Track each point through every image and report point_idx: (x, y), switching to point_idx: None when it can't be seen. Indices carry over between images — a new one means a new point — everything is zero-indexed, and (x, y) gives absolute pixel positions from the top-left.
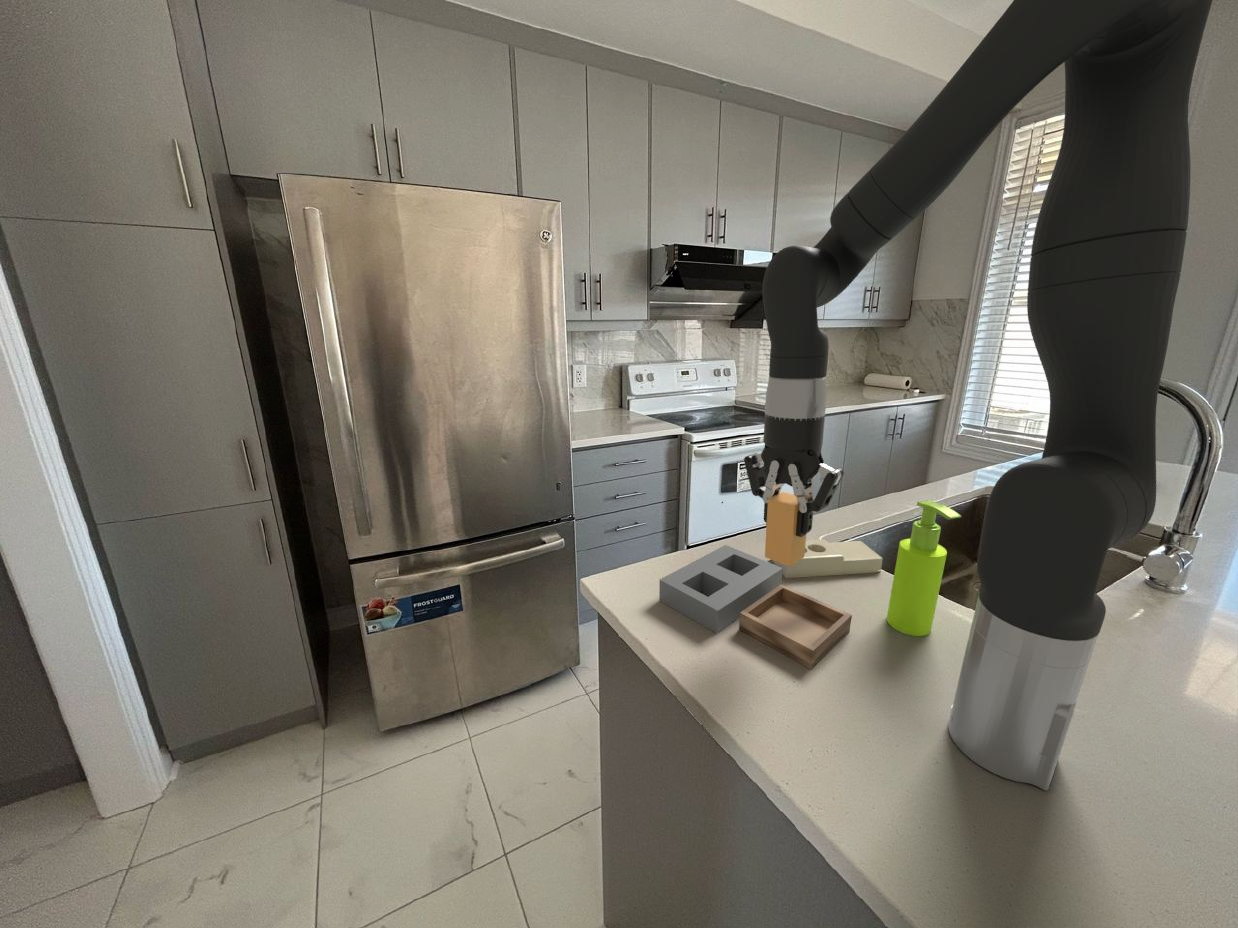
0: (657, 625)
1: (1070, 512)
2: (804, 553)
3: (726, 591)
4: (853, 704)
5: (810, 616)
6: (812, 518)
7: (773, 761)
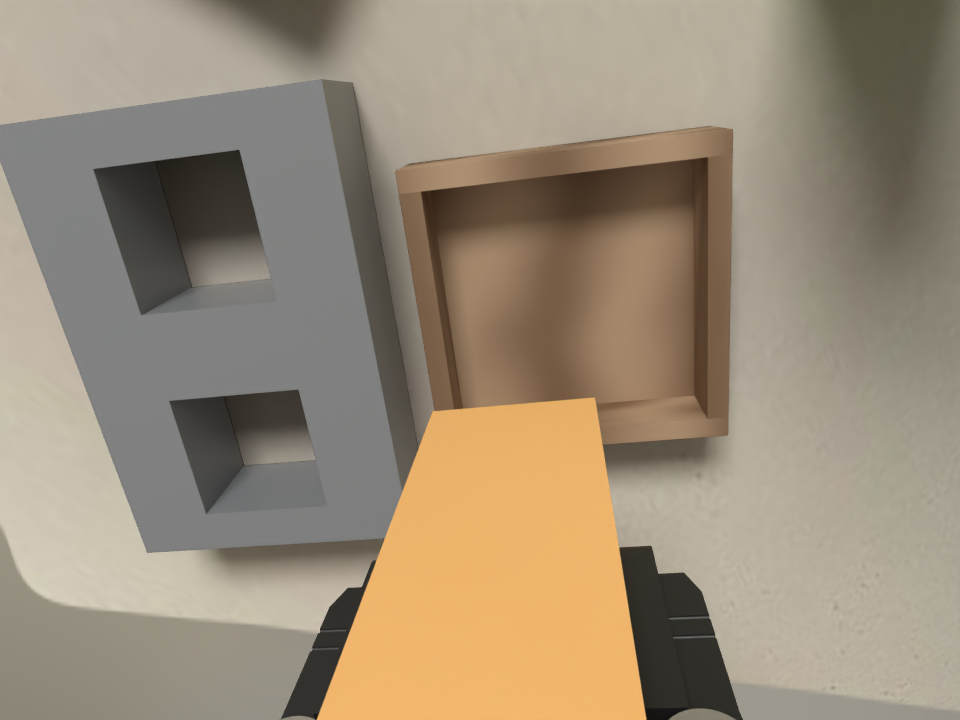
0: (299, 577)
1: None
2: (596, 409)
3: (335, 435)
4: (859, 429)
5: (572, 193)
6: (722, 662)
7: (788, 672)
